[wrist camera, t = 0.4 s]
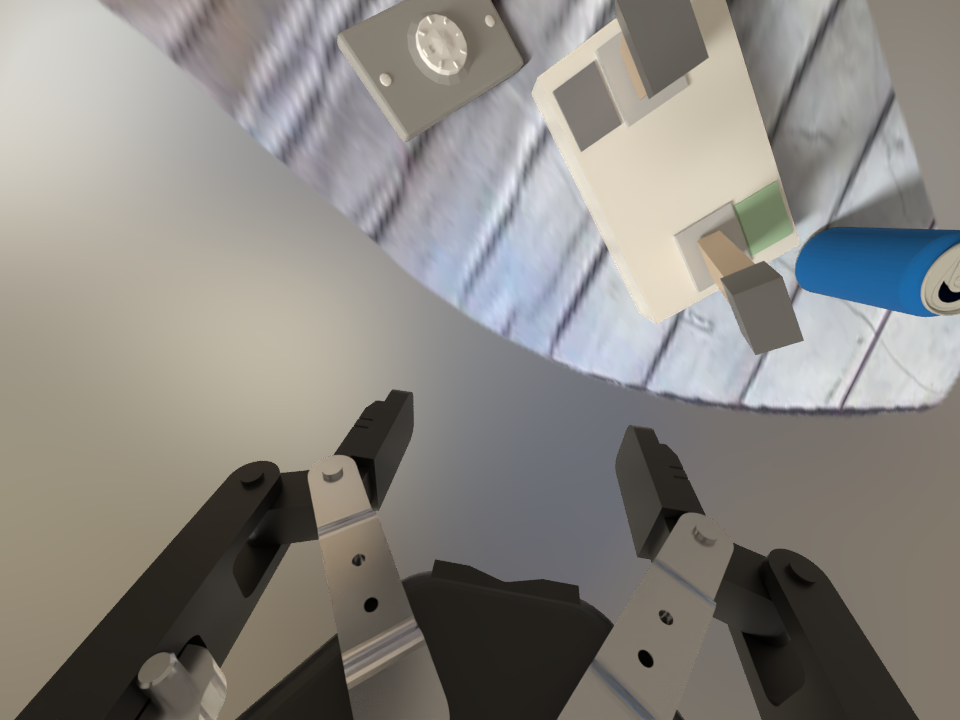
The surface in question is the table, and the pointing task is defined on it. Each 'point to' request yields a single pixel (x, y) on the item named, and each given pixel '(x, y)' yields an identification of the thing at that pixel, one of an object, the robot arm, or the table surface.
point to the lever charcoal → (658, 42)
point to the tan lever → (752, 294)
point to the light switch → (430, 58)
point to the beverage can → (885, 268)
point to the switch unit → (668, 162)
